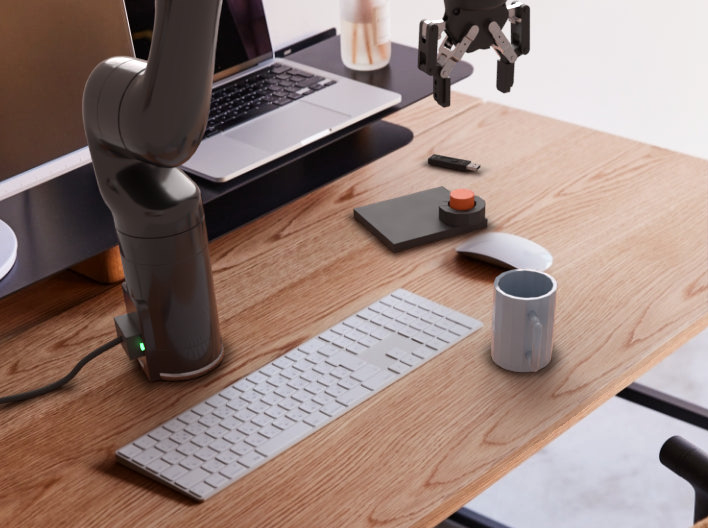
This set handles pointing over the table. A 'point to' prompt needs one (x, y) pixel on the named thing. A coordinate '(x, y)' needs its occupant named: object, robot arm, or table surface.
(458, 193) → the warmer button
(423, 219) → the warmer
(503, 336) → the mug
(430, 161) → the usb flash drive
